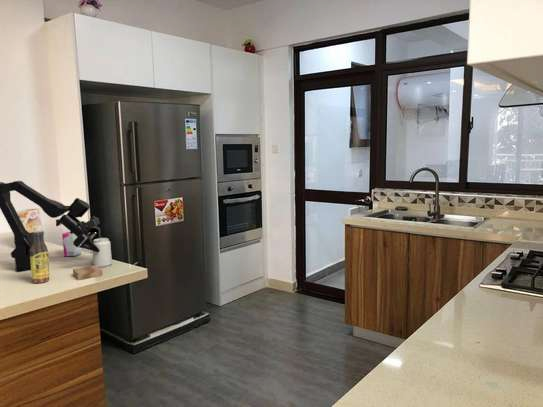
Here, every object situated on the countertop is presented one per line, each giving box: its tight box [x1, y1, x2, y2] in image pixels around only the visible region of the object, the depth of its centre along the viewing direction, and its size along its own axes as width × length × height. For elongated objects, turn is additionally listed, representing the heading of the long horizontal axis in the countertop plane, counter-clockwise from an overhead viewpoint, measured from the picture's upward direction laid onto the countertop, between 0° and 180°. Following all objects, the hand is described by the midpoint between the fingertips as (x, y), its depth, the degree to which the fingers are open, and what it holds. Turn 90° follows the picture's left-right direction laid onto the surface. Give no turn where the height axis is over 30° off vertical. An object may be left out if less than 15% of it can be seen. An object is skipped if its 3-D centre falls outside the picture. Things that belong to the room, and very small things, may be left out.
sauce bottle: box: [30, 230, 50, 284], centre depth 163 cm, size 7×6×20 cm
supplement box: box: [61, 231, 82, 258], centre depth 205 cm, size 6×6×12 cm
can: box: [92, 237, 113, 269], centre depth 184 cm, size 8×8×12 cm
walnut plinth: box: [72, 264, 103, 281], centre depth 171 cm, size 9×9×2 cm
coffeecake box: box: [16, 208, 43, 233], centre depth 230 cm, size 15×7×20 cm, turn 179°
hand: (102, 248), depth 184 cm, fingers open, 9 cm apart
